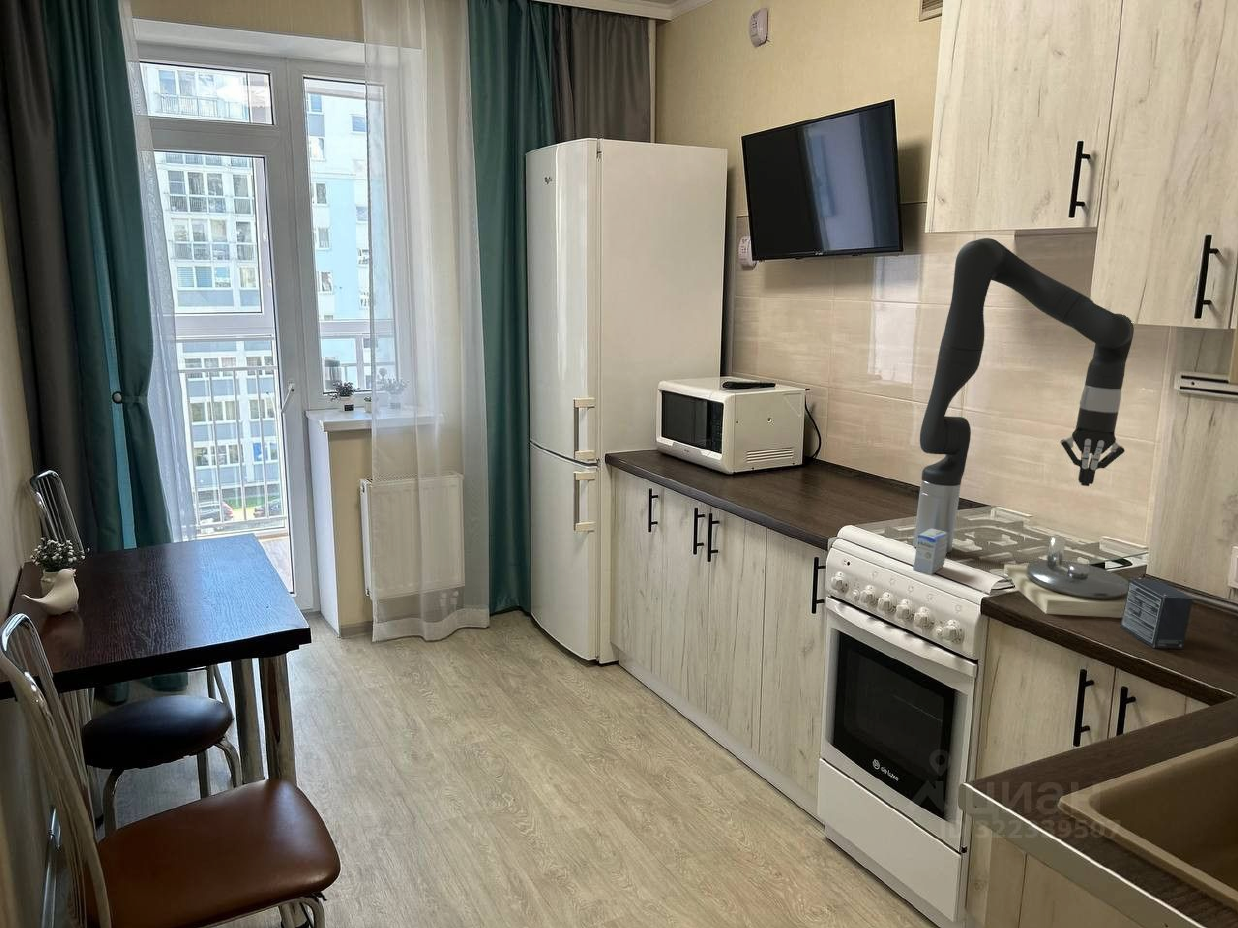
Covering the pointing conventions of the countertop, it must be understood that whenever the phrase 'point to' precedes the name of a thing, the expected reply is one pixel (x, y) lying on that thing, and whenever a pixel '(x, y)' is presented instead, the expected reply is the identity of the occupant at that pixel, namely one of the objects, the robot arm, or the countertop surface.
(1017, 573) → the wheel base
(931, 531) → the medicine box
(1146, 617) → the small box
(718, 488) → the countertop surface
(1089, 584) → the handwheel
